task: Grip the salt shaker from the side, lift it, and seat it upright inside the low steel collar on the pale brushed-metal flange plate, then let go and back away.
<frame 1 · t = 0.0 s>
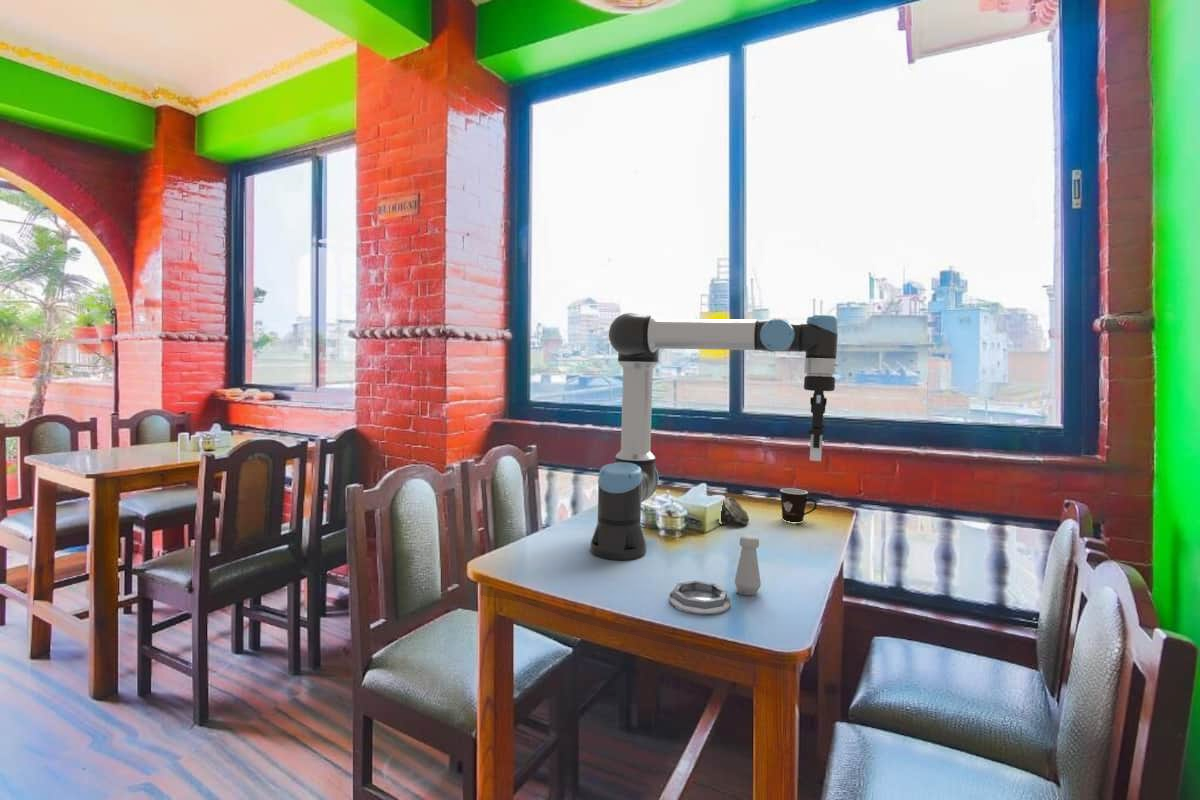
hand: (815, 456, 155), 28 cm above the table, tool pointing down, fingers open, 13 cm apart
salt shaker: (747, 592, 135), on the table
coffee mug: (795, 522, 195), on the table
fossil: (732, 524, 193), on the table
steel collar: (699, 602, 129), on the table
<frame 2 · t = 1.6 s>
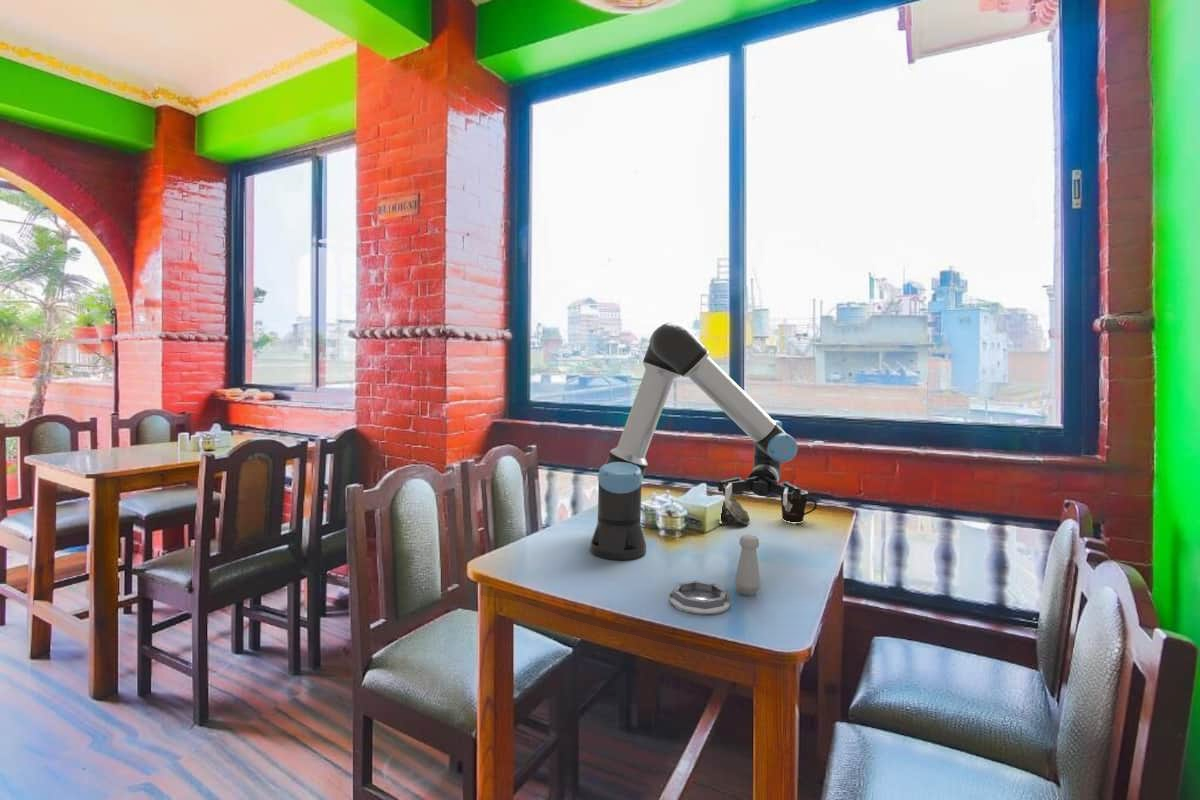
hand: (755, 496, 143), 20 cm above the table, tool horizontal, fingers open, 13 cm apart
nothing on the table moved.
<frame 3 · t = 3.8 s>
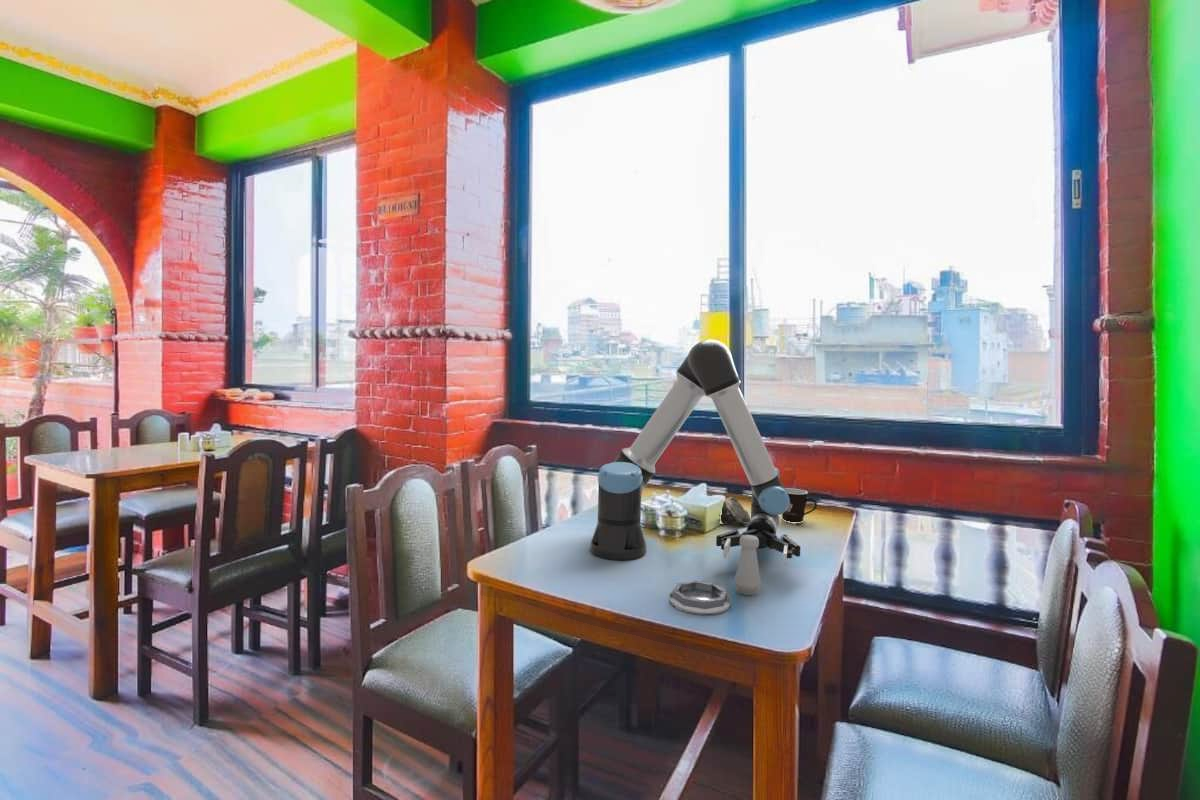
hand: (754, 555, 140), 7 cm above the table, tool horizontal, fingers open, 13 cm apart
nothing on the table moved.
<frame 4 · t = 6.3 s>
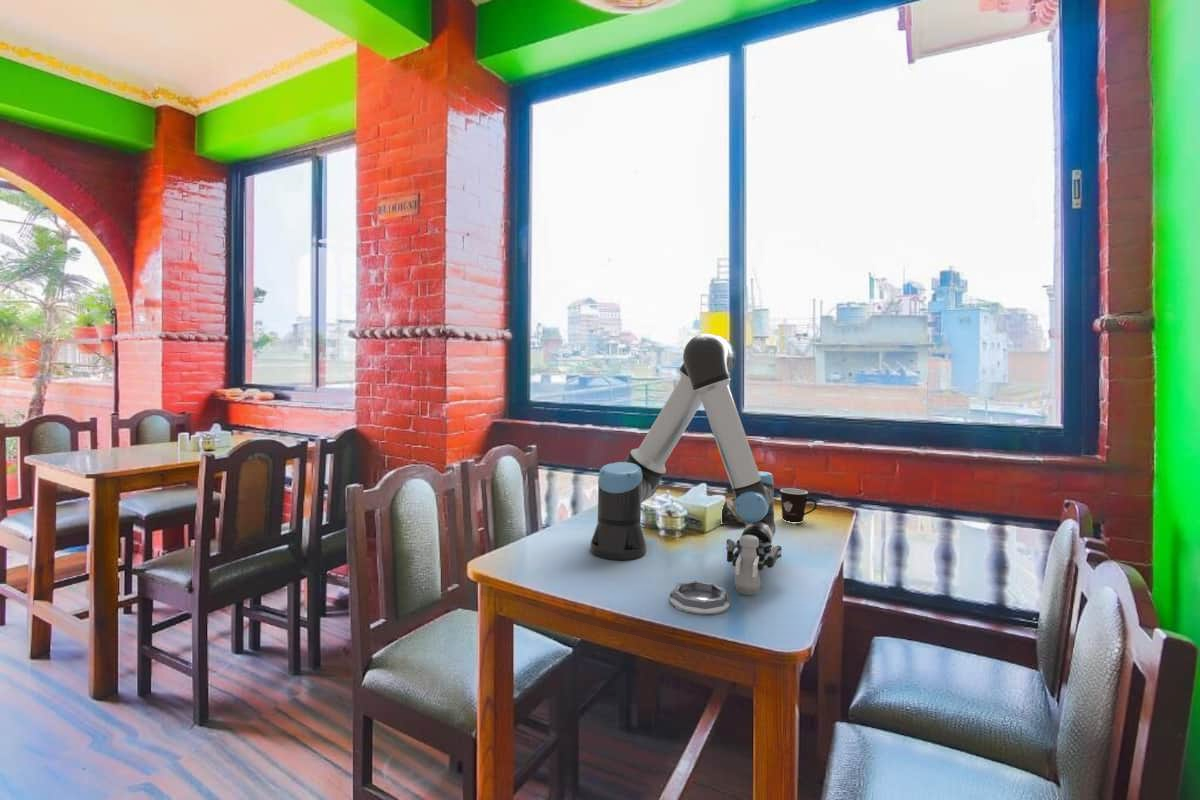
hand: (745, 569, 130), 7 cm above the table, tool horizontal, fingers closed on salt shaker, 3 cm apart
salt shaker: (747, 592, 135), on the table, touching gripper
everything else where it was.
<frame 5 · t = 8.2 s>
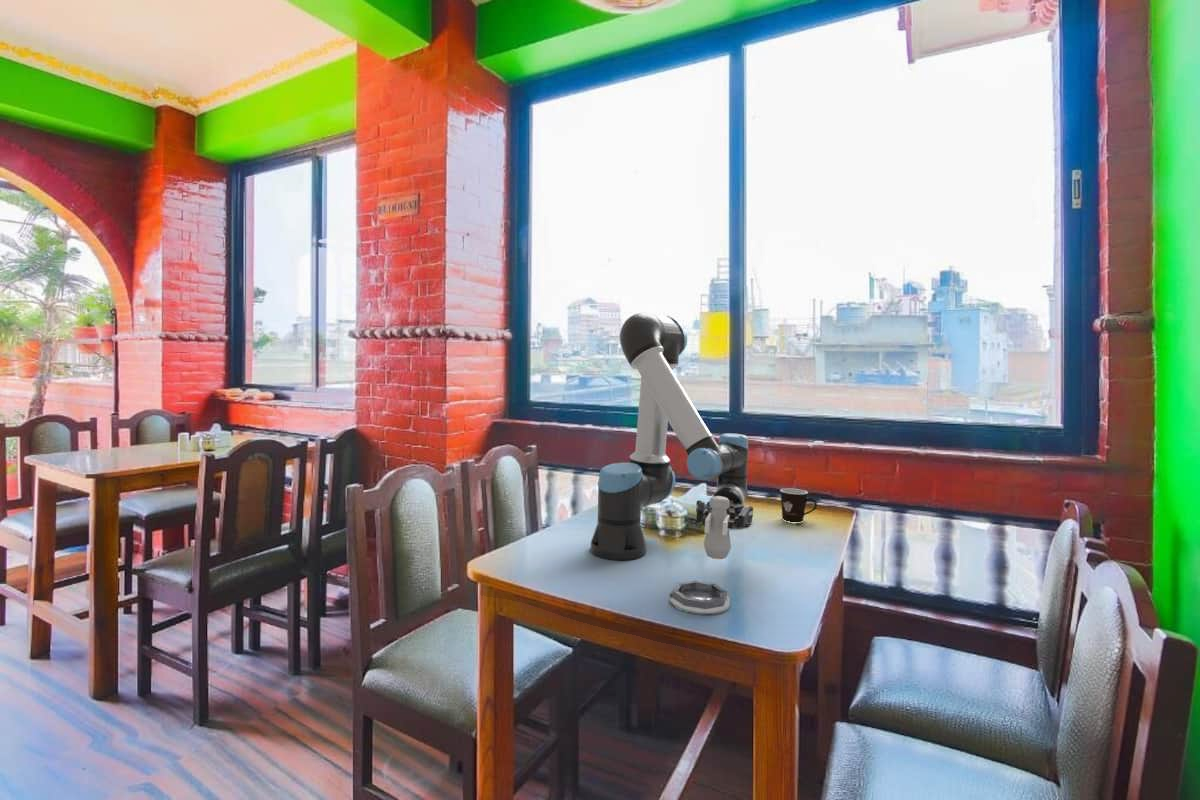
hand: (715, 527, 124), 18 cm above the table, tool horizontal, fingers closed on salt shaker, 3 cm apart
salt shaker: (716, 556, 129), point 10 cm above the table, touching gripper
everything else where it was.
when the fingers open (10 cm above the table, at t = 10.2 s): salt shaker stays where it is, resting on steel collar.
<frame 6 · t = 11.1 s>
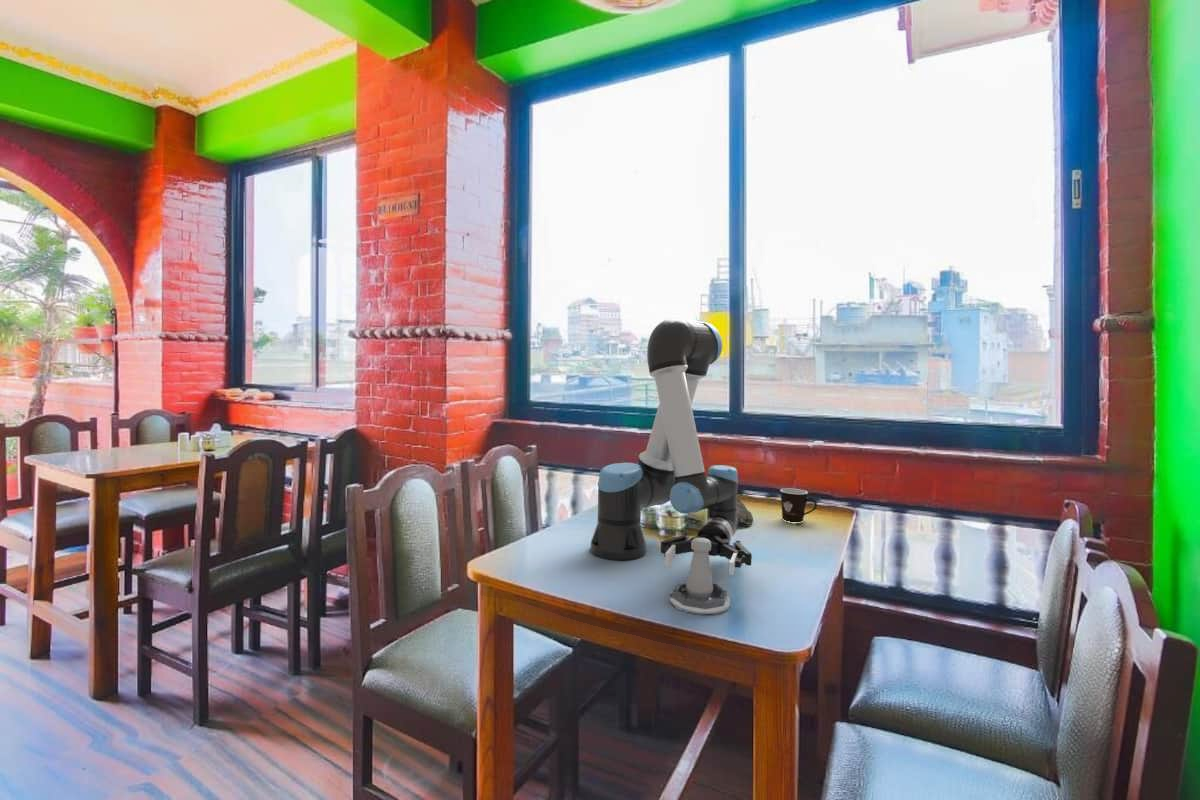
hand: (698, 564, 125), 10 cm above the table, tool horizontal, fingers open, 13 cm apart
salt shaker: (699, 598, 129), point 1 cm above the table, touching steel collar
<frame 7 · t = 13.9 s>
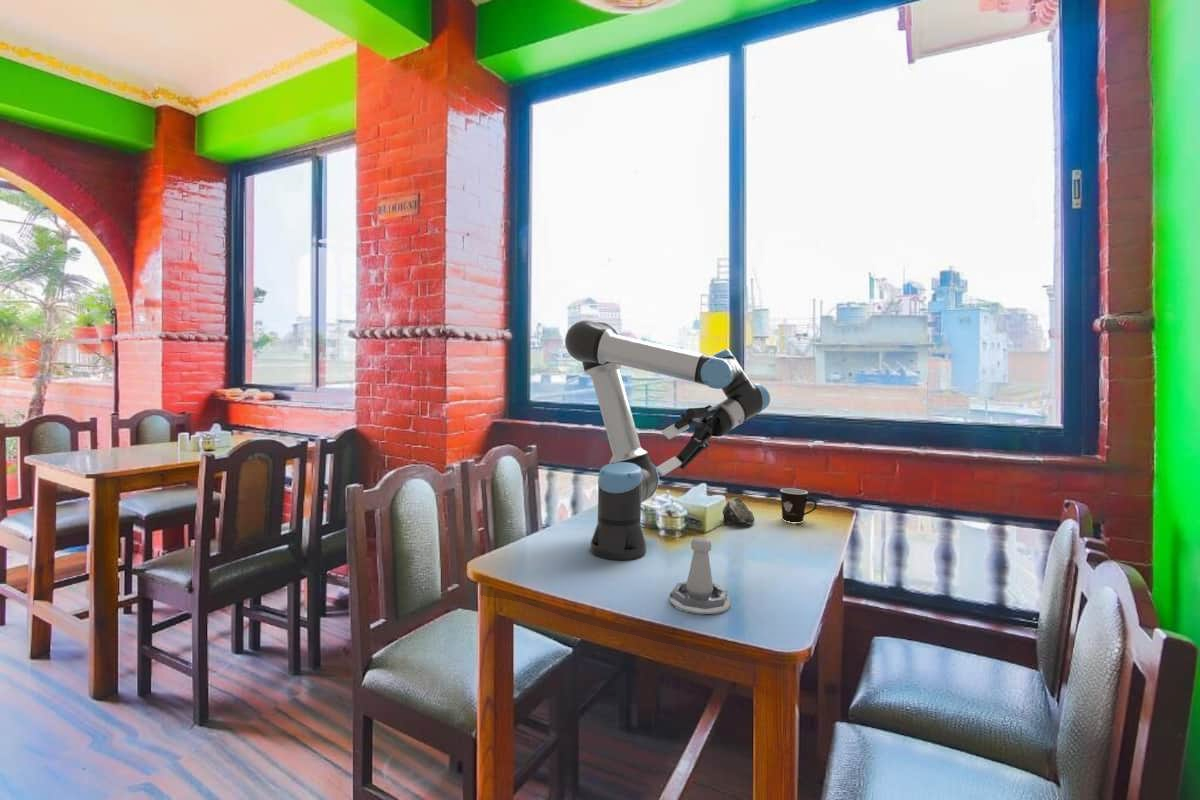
hand: (662, 454, 146), 29 cm above the table, tool tilted 65°, fingers open, 13 cm apart
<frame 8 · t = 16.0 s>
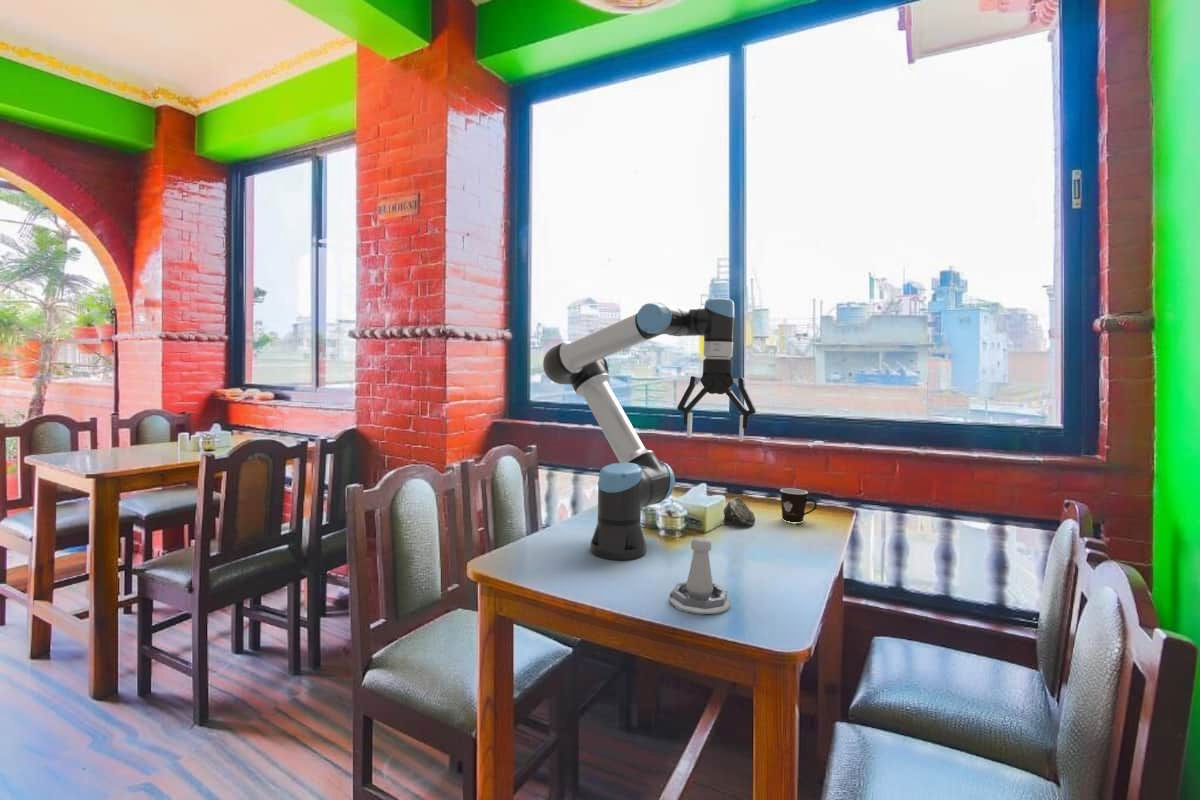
hand: (714, 439, 157), 32 cm above the table, tool pointing down, fingers open, 13 cm apart
at the end: salt shaker 0.1 cm off-centre on the steel collar, point 0.8 cm above the steel collar's base; salt shaker tilted 0°; the gripper is holding nothing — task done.
